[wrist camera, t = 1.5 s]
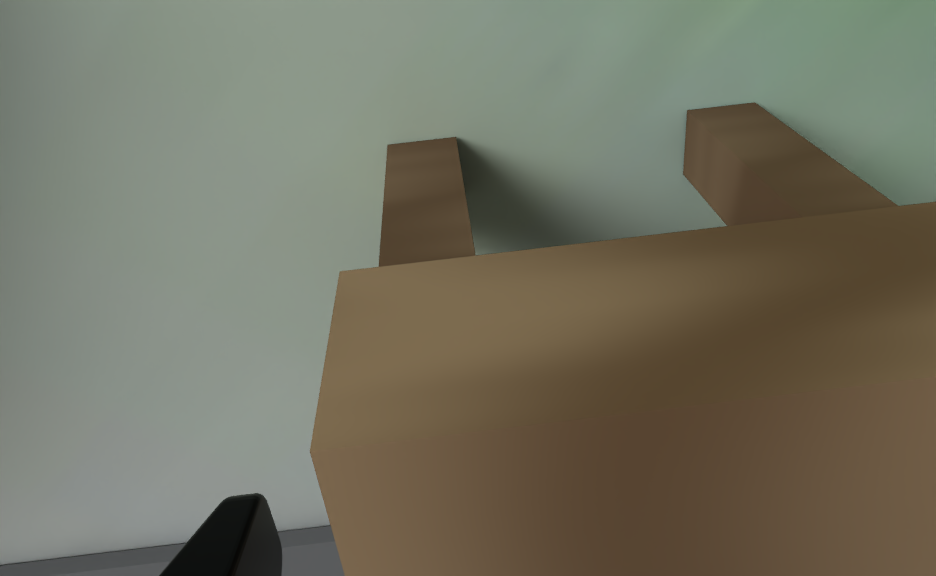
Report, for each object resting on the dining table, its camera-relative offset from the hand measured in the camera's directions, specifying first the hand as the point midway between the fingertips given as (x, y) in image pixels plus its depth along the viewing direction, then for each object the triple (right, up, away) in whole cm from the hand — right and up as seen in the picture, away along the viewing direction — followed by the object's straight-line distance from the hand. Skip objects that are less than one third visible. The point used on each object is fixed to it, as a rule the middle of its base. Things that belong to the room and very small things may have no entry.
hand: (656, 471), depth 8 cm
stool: (0, +2, +4) cm, 4 cm away
